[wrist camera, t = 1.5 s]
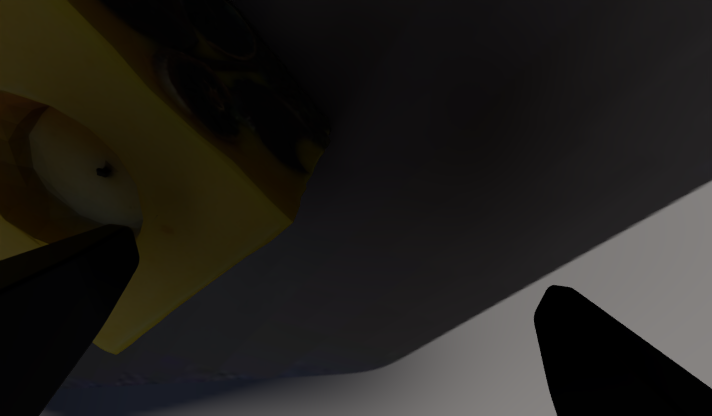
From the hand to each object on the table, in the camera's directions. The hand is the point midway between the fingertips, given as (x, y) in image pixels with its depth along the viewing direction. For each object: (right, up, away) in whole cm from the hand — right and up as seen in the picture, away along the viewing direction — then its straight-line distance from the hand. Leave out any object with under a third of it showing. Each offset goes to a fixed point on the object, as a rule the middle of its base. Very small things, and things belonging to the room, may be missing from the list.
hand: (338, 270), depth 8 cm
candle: (-8, +7, +11) cm, 15 cm away
